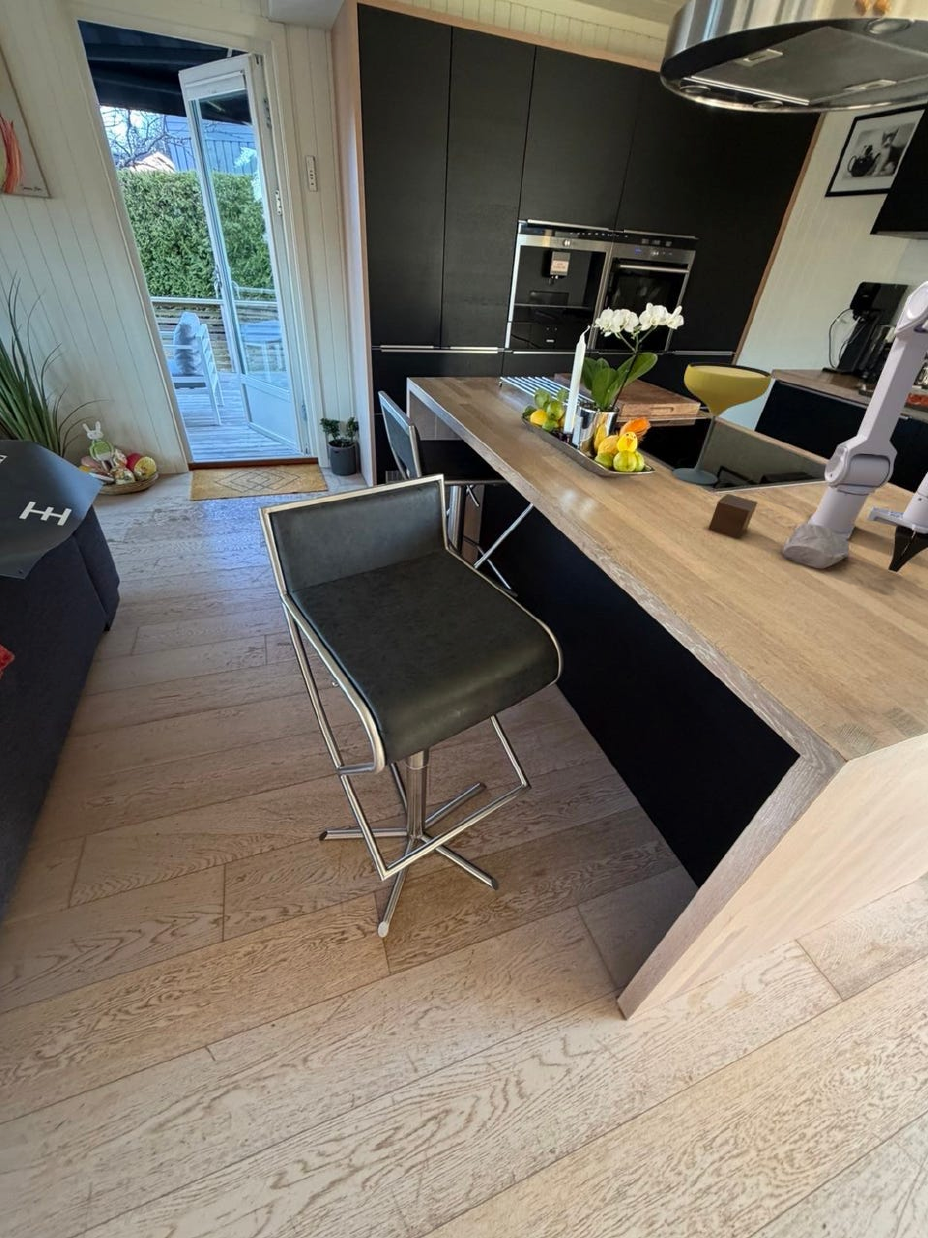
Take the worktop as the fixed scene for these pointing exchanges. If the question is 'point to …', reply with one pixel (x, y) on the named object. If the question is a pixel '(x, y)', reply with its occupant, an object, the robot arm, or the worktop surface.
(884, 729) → the worktop surface
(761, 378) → the cocktail glass
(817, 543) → the grey rock
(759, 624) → the worktop surface
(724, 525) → the walnut cube
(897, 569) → the robot arm
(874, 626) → the worktop surface
